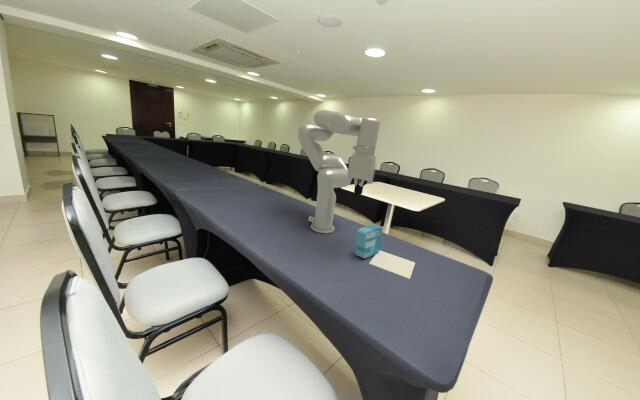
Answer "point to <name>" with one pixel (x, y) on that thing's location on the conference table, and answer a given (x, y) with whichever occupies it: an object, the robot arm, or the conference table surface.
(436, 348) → the conference table surface
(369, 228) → the light blue flat box
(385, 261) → the beige mat
